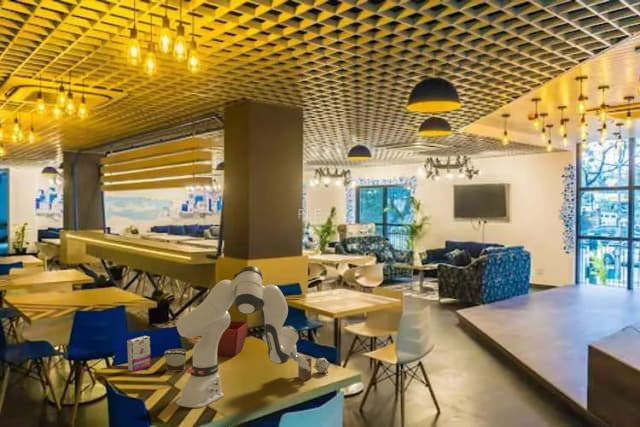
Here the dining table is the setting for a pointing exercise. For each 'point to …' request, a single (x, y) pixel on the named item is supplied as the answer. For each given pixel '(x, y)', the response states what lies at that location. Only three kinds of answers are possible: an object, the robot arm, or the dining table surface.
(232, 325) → the plant pot
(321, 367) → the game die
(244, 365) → the dining table surface
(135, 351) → the candy bar box
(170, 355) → the food container
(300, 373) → the walnut block
